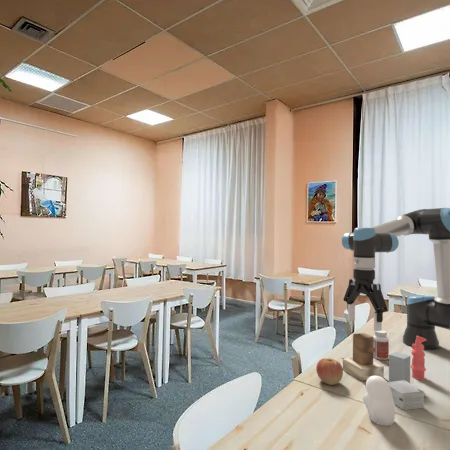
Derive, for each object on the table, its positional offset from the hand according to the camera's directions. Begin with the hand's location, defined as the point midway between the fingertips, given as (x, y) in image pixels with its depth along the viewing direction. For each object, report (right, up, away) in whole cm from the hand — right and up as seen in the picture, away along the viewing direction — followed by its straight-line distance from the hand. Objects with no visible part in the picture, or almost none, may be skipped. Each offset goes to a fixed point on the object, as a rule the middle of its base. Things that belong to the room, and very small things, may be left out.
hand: (363, 325), depth 125 cm
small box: (+3, -18, -22) cm, 28 cm away
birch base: (-1, -18, -1) cm, 18 cm away
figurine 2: (+19, -18, -3) cm, 26 cm away
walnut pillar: (-1, -14, 0) cm, 14 cm away
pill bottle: (+14, -19, +16) cm, 28 cm away
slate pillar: (+9, -18, -9) cm, 22 cm away
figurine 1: (-9, -17, -32) cm, 37 cm away
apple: (-16, -17, -9) cm, 25 cm away
